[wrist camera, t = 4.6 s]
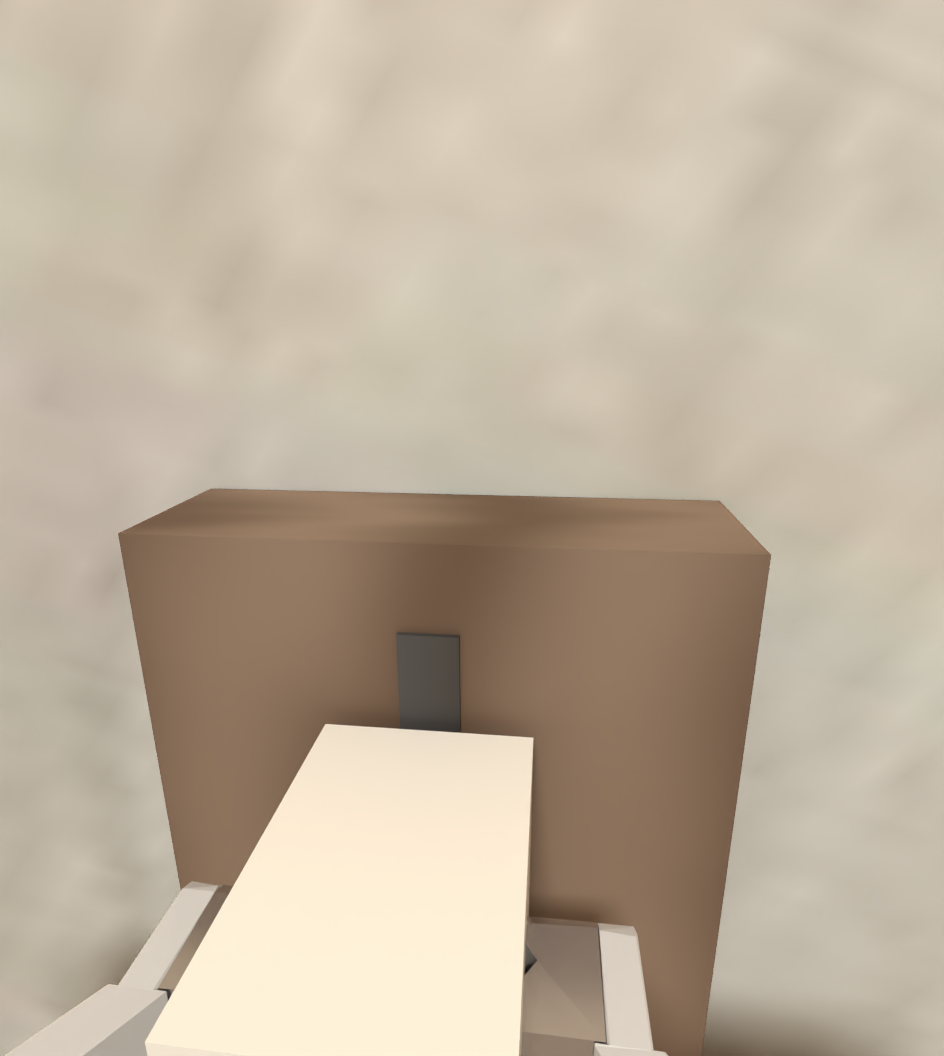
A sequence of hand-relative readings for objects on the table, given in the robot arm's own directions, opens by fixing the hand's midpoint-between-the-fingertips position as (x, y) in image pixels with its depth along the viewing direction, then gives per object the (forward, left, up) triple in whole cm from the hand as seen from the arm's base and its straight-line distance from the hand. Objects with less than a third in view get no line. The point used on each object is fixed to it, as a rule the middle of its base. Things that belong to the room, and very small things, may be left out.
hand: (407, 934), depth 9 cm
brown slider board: (0, +5, -5) cm, 7 cm away
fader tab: (0, 0, -2) cm, 2 cm away
